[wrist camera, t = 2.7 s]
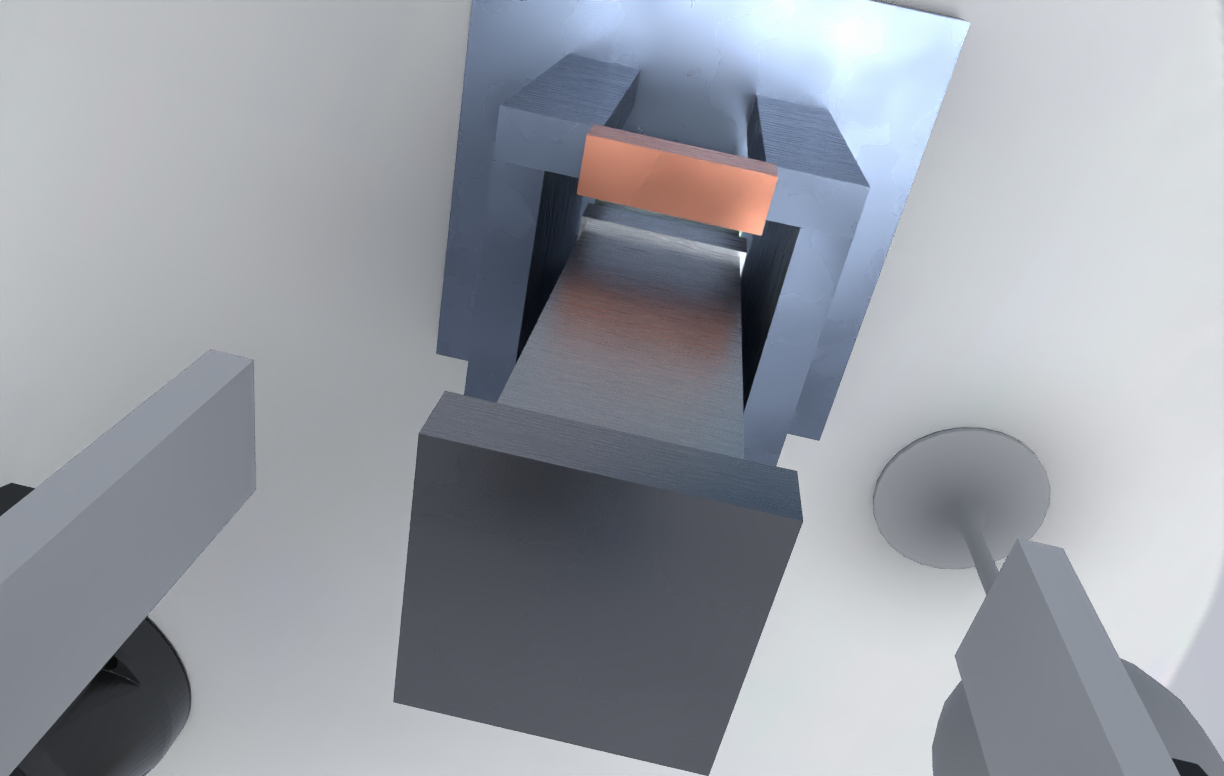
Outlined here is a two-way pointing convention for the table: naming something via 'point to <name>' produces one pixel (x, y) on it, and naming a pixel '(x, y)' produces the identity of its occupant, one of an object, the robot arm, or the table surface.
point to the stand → (694, 167)
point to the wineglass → (993, 563)
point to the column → (602, 510)
